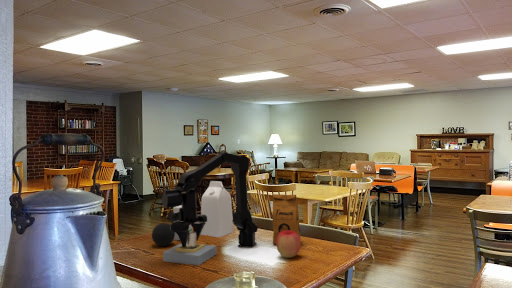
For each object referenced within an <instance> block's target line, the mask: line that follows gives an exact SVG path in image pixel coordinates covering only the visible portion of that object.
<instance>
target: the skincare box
mask: <svg viewBox="0 0 512 288" xmlns="http://www.w3.org/2000/svg"><path fill="white" fill-rule="evenodd" d="M172 208H173V209H172V210H173V211H172V212H174V213H177V212H179V209H180V208H182V204H180V206H176V207H172ZM178 221H179V220H178ZM174 222H175V221H174ZM174 222H173V223H174ZM176 222H177V221H176ZM181 222H183V221H181ZM188 230H189V231H193V227H192V226H191V225H189V229H188ZM177 240H180V239H179V236H178V234H176V233H175V237H174V239H173V241H177Z"/></svg>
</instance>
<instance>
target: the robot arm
mask: <svg viewBox="0 0 512 288" xmlns="http://www.w3.org/2000/svg"><path fill="white" fill-rule="evenodd" d="M224 163H226V164H228V165H230V169H231V171H232V173H233V176H234V183H235V199H236V200H235V201H236V209H235V211H234V212H232V216H233V220H232V222H233V226H235V227H236V230H237V231H238V233H239V234H238V245H237V246H238V247H243V248H252V247H254V246H256V245H257V244H258V243H257V241H256V233H257V232H258V228H259V226H258V225H256V223H254V222H253V216H252V213H251V211H250V209H249V207H248V206H249V205H248V204H249V203H248V188H247V187H248V185H247V174H248V171H249V168H250V159H249V157H248V156H247V155H244V154H243V155H242V154H241V155H240V154H232V153H228V152H227V151H220V152H219V153H217V154H216V155H215V156H213V157H212V158H210V159H208V160H207V161H206V162H204V163H203V164H201V165H199V166H198V167H196V168H194V169H191V170H188V171H185V172H184V173H181V175H179V177H178V178H179V179H178V182H177V183H176V184H175V186H174V188H173V189H164V190H163V194H162V197H161V204H162V207H163V208H164V209H168V208H174V207H176V206H180V205H182V208H180V209H179V212H177V213H174V212H173V211H171V212H168V213H167V221H169V222H170V223H171V224H169V225H170V229H171V231H173V232H175V233H176V234H178V236H179V239H180V241H179V242H180V244H182V247H186V243H187V239H188V235H189V230H188V229H189V225H191V226H192V231H195V232H196V242H198V240H199V238H200V236H201V231H202V229H203V227H204V225H205V224H206V223H205V222H207V216H206V215H201V213H200V214H199V213H197V210H199V206H197V194H199V193H201V192H202V191H201V190H200V189H199V187H198V185H199V184H200V183H201V182H202V180H204V179H203V178H205V177H206V176H207V175H208V174H210V173H212V172H213V171H214V170H216V169H217V168H218V167H220V166H222V165H223V164H224ZM178 220H179V221H178ZM174 221H175V222H174ZM176 221H177V222H176ZM181 221H183V222H181Z"/></svg>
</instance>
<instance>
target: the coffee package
mask: <svg viewBox="0 0 512 288" xmlns="http://www.w3.org/2000/svg"><path fill="white" fill-rule="evenodd" d="M297 198H298V197H297V194H281V193H279V194H278V193H277V194H273V195H272V212H271V215H272V217H271V218H272V231H273V236H272V244H274V245H276V240H277V236H278V234H279V233H280V232H281V231H286V230H290V231H294V232H295V233H297V234H298V235H299V237H300V241H301V234H302V233H301V227H300V214H299V208H298V199H297ZM301 242H302V241H301Z"/></svg>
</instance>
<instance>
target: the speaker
mask: <svg viewBox="0 0 512 288" xmlns="http://www.w3.org/2000/svg"><path fill="white" fill-rule="evenodd" d="M170 225H171V224H169V223H167V222H165V223H163V222H162V223H159V224H157V225H156V226H155V227H154V228H153V230H152V232H151V239H152V242H154V244H155V245H156V246H159V247H165V246H168V245H170V244H172V242H173V241H174V237H175V232H173V231H171V229H170Z"/></svg>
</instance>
